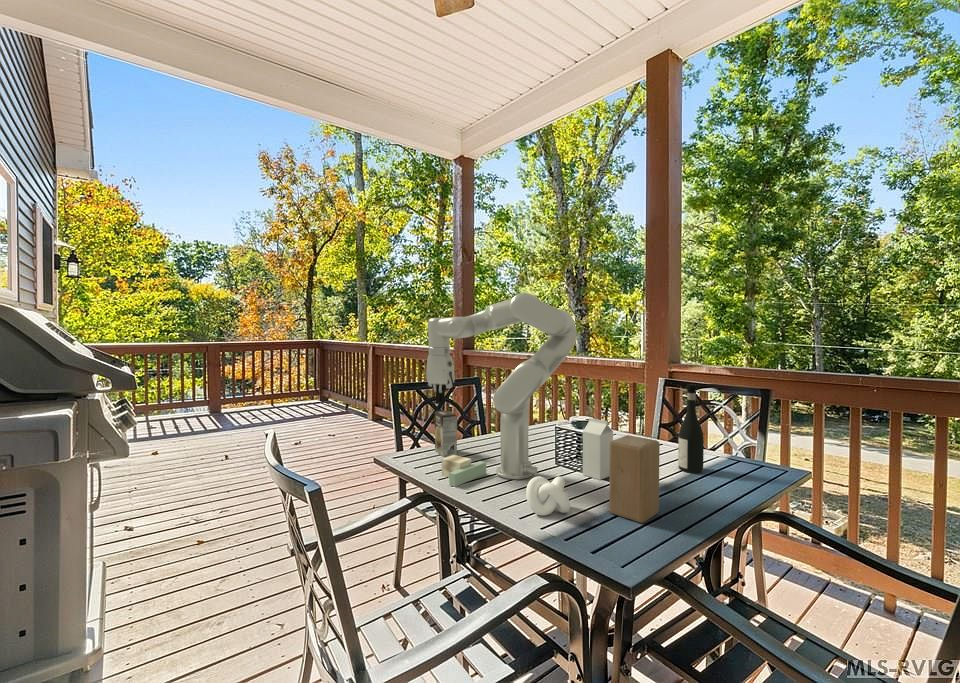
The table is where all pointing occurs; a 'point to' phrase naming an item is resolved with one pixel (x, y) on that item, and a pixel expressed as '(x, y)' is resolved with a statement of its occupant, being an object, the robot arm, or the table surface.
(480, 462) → the board
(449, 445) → the coffee box
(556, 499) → the white knot
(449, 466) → the birch block
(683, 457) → the wine bottle
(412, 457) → the table surface
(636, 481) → the wooden block
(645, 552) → the table surface
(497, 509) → the table surface
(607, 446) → the milk carton
